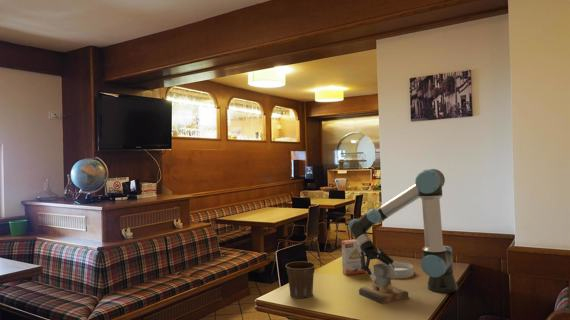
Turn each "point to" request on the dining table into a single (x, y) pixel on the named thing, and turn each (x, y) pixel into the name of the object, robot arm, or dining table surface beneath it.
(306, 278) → the plant pot
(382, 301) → the block
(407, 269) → the dish
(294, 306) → the dining table surface
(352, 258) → the cracker box
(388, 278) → the grey upright cylinder
